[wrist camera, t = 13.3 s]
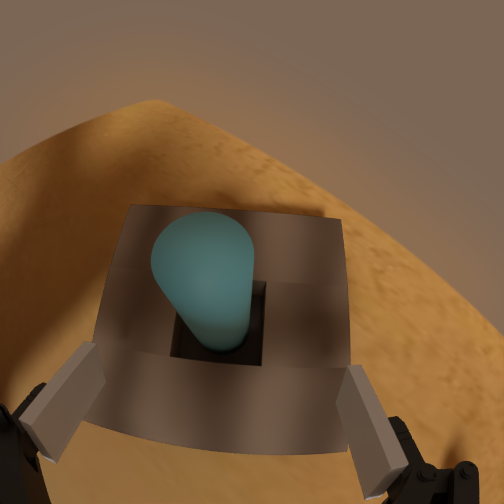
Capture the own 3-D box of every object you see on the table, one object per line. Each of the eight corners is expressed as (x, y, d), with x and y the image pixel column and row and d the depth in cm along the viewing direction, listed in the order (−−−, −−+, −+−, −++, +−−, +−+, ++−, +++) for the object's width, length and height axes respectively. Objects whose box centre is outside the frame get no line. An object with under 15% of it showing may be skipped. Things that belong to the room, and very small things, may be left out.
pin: (193, 352, 20) (141, 298, 10) (200, 303, 22) (163, 209, 12) (247, 357, 20) (250, 309, 10) (250, 307, 22) (257, 214, 12)
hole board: (105, 418, 18) (81, 419, 14) (142, 229, 26) (130, 204, 23) (329, 443, 18) (347, 451, 14) (328, 243, 26) (340, 219, 23)
